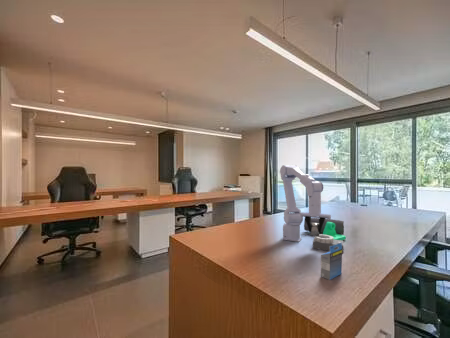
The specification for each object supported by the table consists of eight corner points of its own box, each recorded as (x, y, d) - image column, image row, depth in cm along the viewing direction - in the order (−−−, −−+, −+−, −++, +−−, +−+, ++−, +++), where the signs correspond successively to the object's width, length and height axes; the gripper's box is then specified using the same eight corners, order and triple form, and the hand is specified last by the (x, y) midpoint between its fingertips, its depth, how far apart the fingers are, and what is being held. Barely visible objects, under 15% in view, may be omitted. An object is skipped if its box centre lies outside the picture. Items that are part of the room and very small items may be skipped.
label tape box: (332, 270, 89) (332, 239, 90) (342, 274, 86) (342, 242, 86) (320, 276, 84) (319, 243, 85) (330, 280, 81) (330, 246, 81)
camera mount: (334, 244, 123) (334, 225, 124) (321, 240, 130) (321, 222, 130) (346, 240, 130) (346, 222, 130) (334, 237, 136) (334, 220, 136)
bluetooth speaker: (344, 234, 141) (343, 219, 142) (343, 238, 133) (343, 221, 133) (306, 230, 152) (306, 215, 153) (303, 233, 144) (303, 218, 145)
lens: (309, 235, 112) (309, 223, 112) (311, 234, 115) (311, 222, 115) (319, 237, 110) (318, 224, 110) (319, 235, 113) (319, 223, 113)
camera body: (312, 248, 116) (312, 237, 116) (314, 243, 124) (314, 233, 124) (343, 252, 109) (343, 241, 110) (343, 247, 117) (343, 236, 118)
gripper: (298, 205, 113) (298, 232, 113) (330, 207, 106) (330, 235, 106) (300, 203, 119) (301, 229, 119) (330, 205, 112) (331, 232, 112)
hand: (315, 232), depth 113 cm, fingers closed on lens, 4 cm apart
